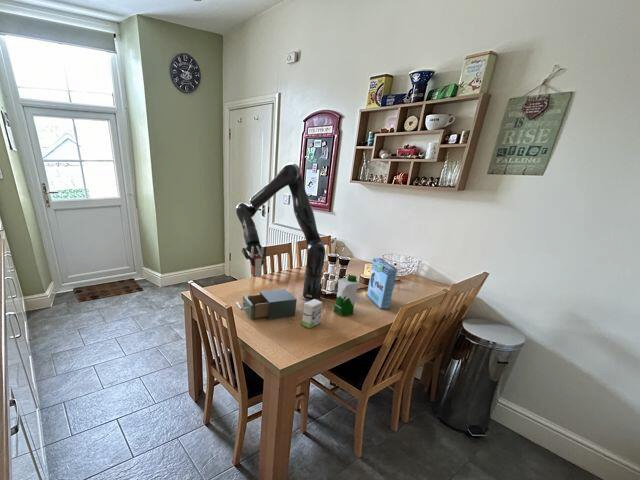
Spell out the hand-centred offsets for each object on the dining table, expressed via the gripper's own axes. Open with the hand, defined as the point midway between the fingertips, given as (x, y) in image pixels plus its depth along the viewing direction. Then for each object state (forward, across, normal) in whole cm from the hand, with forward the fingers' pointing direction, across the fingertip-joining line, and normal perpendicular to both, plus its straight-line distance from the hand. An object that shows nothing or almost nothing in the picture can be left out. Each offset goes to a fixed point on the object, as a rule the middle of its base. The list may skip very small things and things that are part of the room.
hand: (257, 265), depth 170 cm
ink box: (+36, +19, -3) cm, 41 cm away
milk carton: (+31, +42, +2) cm, 52 cm away
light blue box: (+26, +68, +7) cm, 74 cm away
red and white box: (+3, 0, +6) cm, 6 cm away
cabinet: (+24, +8, +8) cm, 26 cm away
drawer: (+23, -5, +8) cm, 25 cm away
